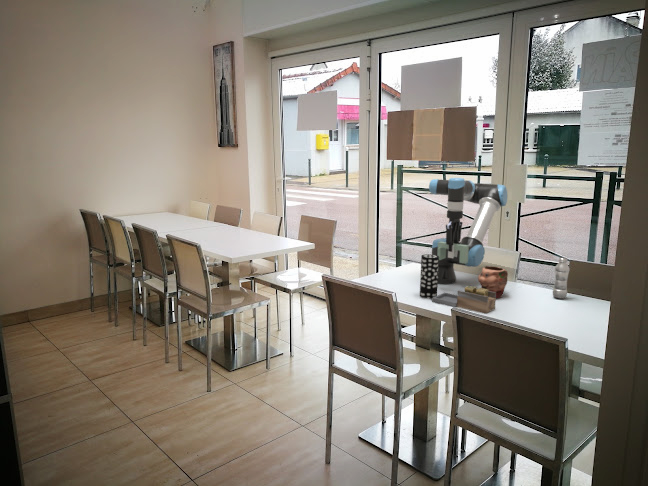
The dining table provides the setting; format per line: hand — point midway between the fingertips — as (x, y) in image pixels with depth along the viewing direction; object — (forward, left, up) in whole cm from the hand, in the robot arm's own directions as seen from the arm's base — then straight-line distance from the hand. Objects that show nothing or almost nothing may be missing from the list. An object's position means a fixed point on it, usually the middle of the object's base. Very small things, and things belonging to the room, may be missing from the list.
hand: (452, 257), depth 254 cm
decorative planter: (-10, +18, -18) cm, 27 cm away
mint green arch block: (0, 0, -2) cm, 2 cm away
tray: (+14, +7, -18) cm, 24 cm away
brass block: (+14, +17, -13) cm, 26 cm away
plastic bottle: (-27, +44, -18) cm, 55 cm away
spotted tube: (+13, -5, -18) cm, 23 cm away
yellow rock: (+14, +23, -13) cm, 30 cm away
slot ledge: (+14, +20, -18) cm, 30 cm away
